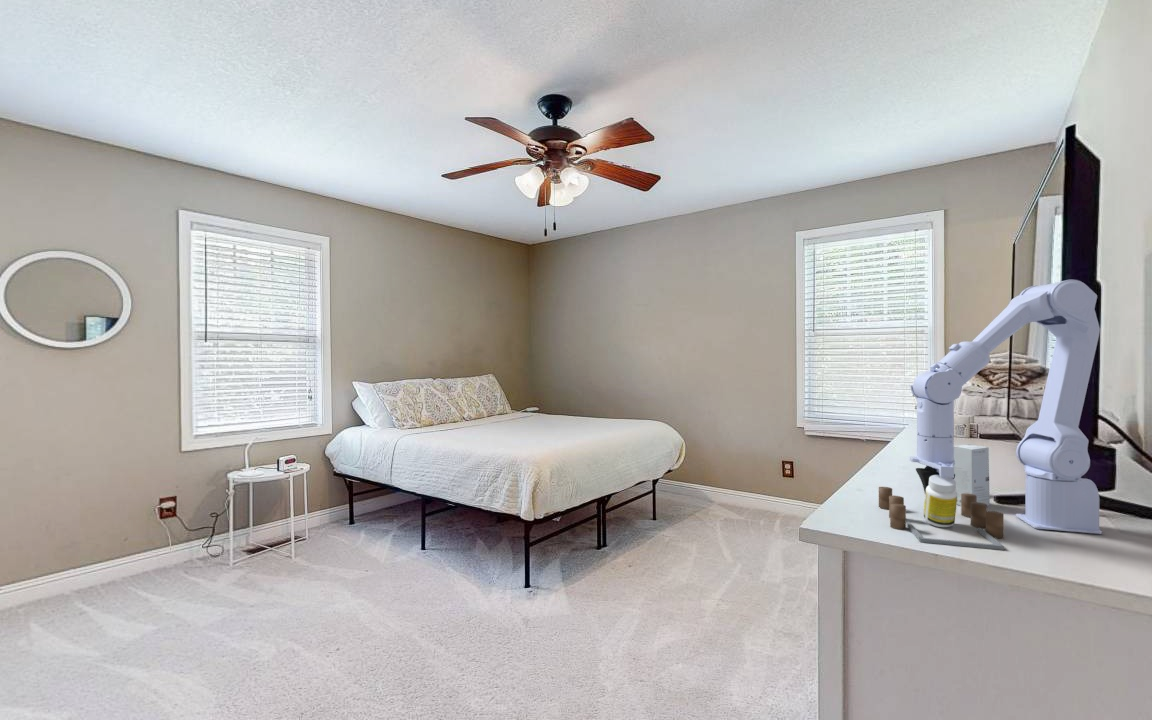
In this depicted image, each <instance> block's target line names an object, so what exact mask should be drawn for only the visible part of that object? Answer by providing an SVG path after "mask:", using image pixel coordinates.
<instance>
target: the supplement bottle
mask: <svg viewBox="0 0 1152 720" xmlns="http://www.w3.org/2000/svg"><path fill="white" fill-rule="evenodd" d="M955 489H956V481H955V480H954V479H953V478H948V477H940V476H939V475H932V476H930V478H929V485H928V486H927V487H926V492H924V504H923V505H924V506H923V507H924V508H923V519H924V520H925V521H926V522H927V523H929V524H930V525H932V526H934V527H938V528H950V527H953V526H954V525H955V522H956V513H957V505H956V504H957V492H956V490H955Z"/></svg>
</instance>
